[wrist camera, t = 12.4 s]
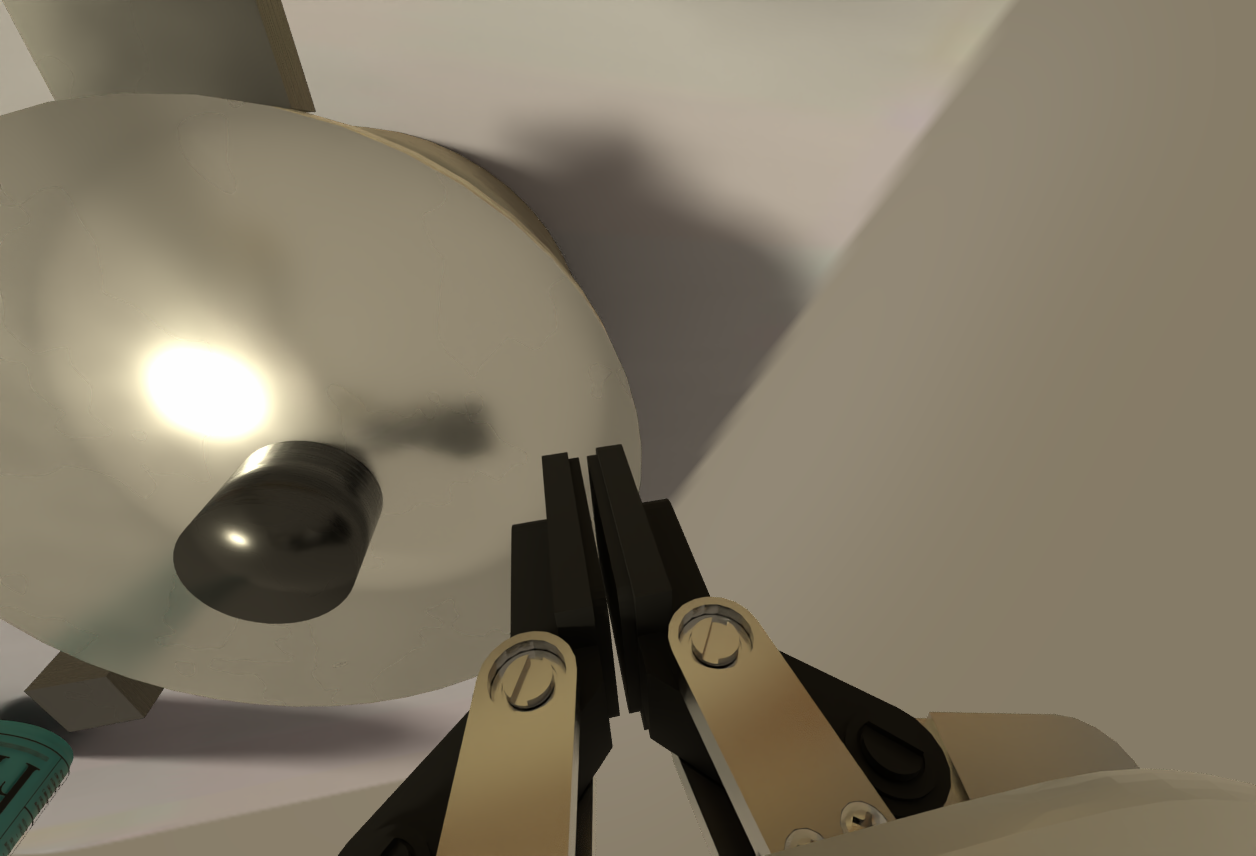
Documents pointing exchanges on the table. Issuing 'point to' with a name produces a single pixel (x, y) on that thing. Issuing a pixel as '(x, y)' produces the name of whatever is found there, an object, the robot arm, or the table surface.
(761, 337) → the table surface
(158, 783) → the table surface
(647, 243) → the table surface
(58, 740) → the beverage bottle
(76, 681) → the cooker pot
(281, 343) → the cooker lid
